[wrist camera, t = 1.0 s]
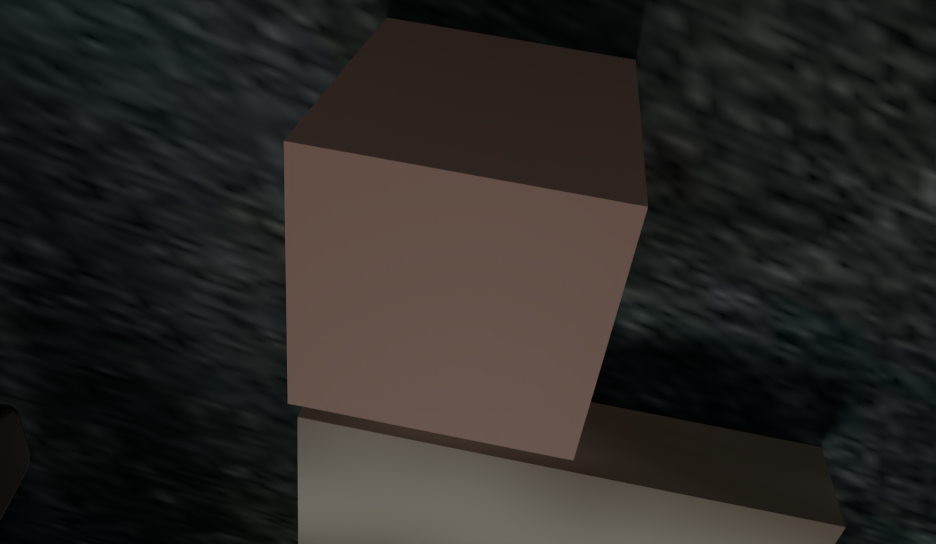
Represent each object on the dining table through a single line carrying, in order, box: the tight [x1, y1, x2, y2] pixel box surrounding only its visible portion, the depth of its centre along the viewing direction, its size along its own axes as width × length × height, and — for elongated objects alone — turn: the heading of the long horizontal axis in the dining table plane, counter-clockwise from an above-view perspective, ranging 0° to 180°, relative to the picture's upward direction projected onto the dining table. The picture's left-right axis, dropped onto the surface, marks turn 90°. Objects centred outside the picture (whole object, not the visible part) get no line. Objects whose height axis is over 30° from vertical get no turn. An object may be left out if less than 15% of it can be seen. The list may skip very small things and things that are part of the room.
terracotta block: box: [284, 18, 648, 460], centre depth 14 cm, size 5×5×6 cm
